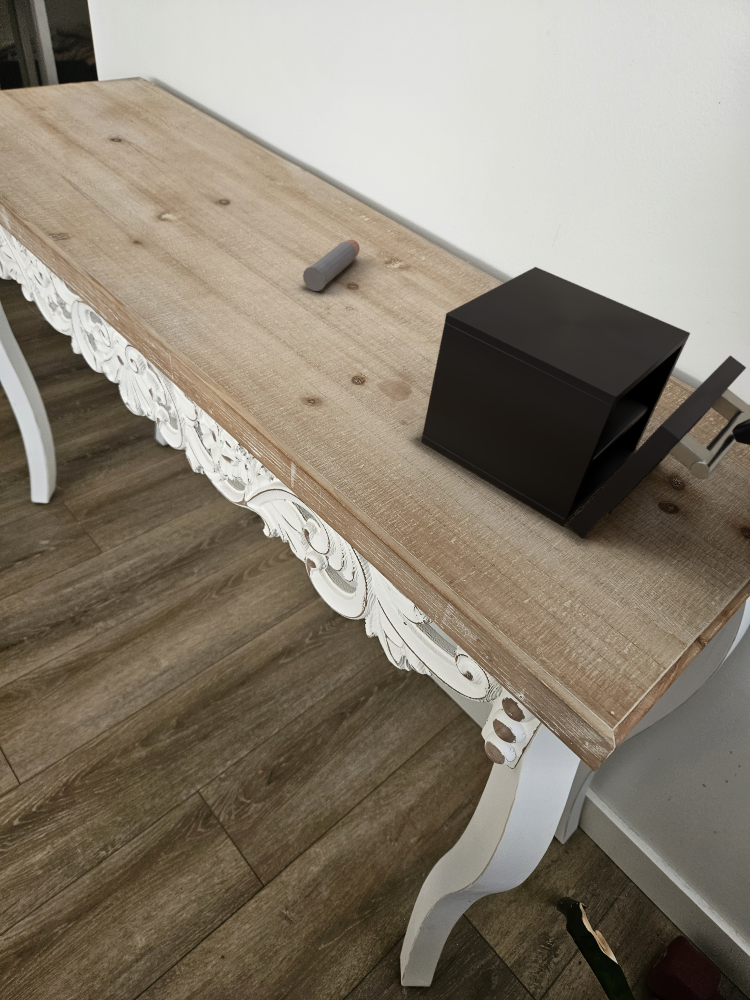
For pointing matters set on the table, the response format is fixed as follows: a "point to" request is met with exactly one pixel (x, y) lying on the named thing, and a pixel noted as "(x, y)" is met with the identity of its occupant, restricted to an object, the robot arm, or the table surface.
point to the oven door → (675, 444)
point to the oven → (547, 388)
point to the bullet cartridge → (330, 265)
